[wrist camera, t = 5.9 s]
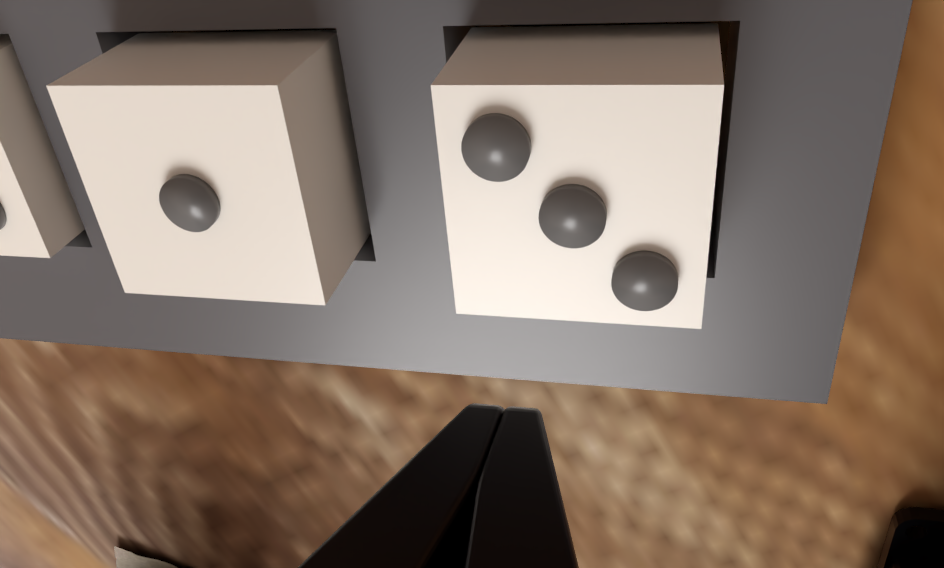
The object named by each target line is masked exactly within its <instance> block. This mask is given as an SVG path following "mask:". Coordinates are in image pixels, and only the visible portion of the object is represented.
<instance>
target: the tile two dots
mask: <svg viewBox="0 0 944 568" xmlns="http://www.w3.org/2000/svg"><path fill="white" fill-rule="evenodd" d="M83 230H85V227H84V225H83V222H82V220H81V217H80V215H79V212H78V210H77V207H76V204H75V202H74V199H73V197H72V194H71V192H70V189H69V187H68V184H67V182H66V179H65V176H64V174H63V171H62V169H61V166H60V164H59V161H58V159H57V156H56V154H55V151H54V148H53V146H52V143H51V141H50V138H49V136H48V133H47V131H46V128H45V126H44V123H43V120H42V118H41V115H40V113H39V110H38V108H37V105H36V103H35V100H34V98H33V95H32V92H31V90H30V87H29V85H28V82H27V80H26V77H25V75H24V72H23V70H22V67H21V64H20V62H19V59H18V57H17V54H16V52H15V49H14V47H13V44H12V42H11V39H10V36H9V34H0V255H1V256H20V257H39V258H51V257H52V256H54V255H55V254H56V253H57V252H58V251H60V250H61V249H62V248H63V247H64V246H65V245H67V244H68V243H69V242H70V241H71V240H73V239H74V238H75V237H76V236H77V235H79V234H80V233H81V232H82V231H83Z"/></svg>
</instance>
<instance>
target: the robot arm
mask: <svg viewBox="0 0 944 568" xmlns="http://www.w3.org/2000/svg"><path fill="white" fill-rule="evenodd" d="M911 526H916V527H911ZM298 568H579V567H578V563H577V558H576V554H575V550H574V546H573V542H572V538H571V534H570V529H569V525H568V521H567V517H566V513H565V509H564V505H563V501H562V496H561V492H560V488H559V484H558V480H557V476H556V472H555V467H554V463H553V459H552V455H551V451H550V447H549V443H548V439H547V434H546V430H545V426H544V422H543V418H542V414H541V412H540V411H539V410H538V409H535V408H523V407H508V408H506V409H505V410H504V409H503V408H502V407H501V406H498V405H487V404H470V405H468V406H467V407H465V408H464V409H463V410H462V411H461V412H460V413H459V414H458V415H457V416H456V417H455V418H454V419H453V420H452V421H451V422H450V423H449V424H447V425H446V426H445V427H444V428H443V429H442V430H441V431H440V432H439V433H438V434H437V435H436V436H435V437H434V438H433V439H432V440H431V441H430V442H429V443H428V444H427V445H425V446H424V447H423V448H422V449H421V450H420V451H419V452H418V453H417V454H416V455H415V456H414V457H413V458H412V459H411V460H410V461H409V462H408V463H407V464H406V465H405V466H404V467H402V468H401V469H400V470H399V471H398V472H397V473H396V474H395V475H394V476H393V477H392V478H391V479H390V480H389V481H388V482H387V483H386V484H385V485H384V486H383V487H382V488H380V489H379V490H378V491H377V492H376V493H375V494H374V495H373V496H372V497H371V498H370V499H369V500H368V501H367V502H366V503H365V504H364V505H363V506H362V507H361V508H360V509H359V510H357V511H356V512H355V513H354V514H353V515H352V516H351V517H350V518H349V519H348V520H347V521H346V522H345V523H344V524H343V525H342V526H341V527H340V528H339V529H338V530H337V531H335V532H334V533H333V534H332V535H331V536H330V537H329V538H328V539H327V540H326V541H325V542H324V543H323V544H322V545H321V546H320V547H319V548H318V549H317V550H316V551H315V552H314V553H312V554H311V555H310V556H309V557H308V558H307V559H306V560H305V561H304V562H303V563H302V564H301V565H300V566H299V567H298ZM873 568H944V510H939V509H929V508H919V507H908V508H905V509H901V510H899V511H898V512H896V513H895V514H894V516H893V517H892V520H891V523H890V526H889V530H888V533H887V536H886V540H885V543H884V546H883V550H882V553H881V556H880V559H879V563H878V566H877V567H873Z"/></svg>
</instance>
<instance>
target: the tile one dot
mask: <svg viewBox="0 0 944 568" xmlns="http://www.w3.org/2000/svg"><path fill="white" fill-rule="evenodd" d="M46 87H47V89H48V92H49V95H50V97H51V100H52V102H53V105H54V108H55V110H56V113H57V116H58V118H59V121H60V123H61V126H62V129H63V131H64V134H65V137H66V139H67V142H68V144H69V147H70V150H71V152H72V155H73V158H74V160H75V163H76V165H77V168H78V171H79V173H80V176H81V179H82V181H83V184H84V186H85V189H86V192H87V194H88V197H89V200H90V202H91V205H92V207H93V210H94V213H95V215H96V218H97V221H98V223H99V226H100V229H101V231H102V234H103V236H104V239H105V242H106V244H107V247H108V250H109V252H110V255H111V257H112V260H113V263H114V265H115V268H116V271H117V273H118V276H119V278H120V281H121V284H122V286H123V289H124V292H125V293H135V294H151V295H167V296H183V297H199V298H214V299H230V300H246V301H262V302H278V303H294V304H310V305H326V304H327V302H328V301H329V299H330V298H331V296H332V294H333V293H334V291H335V290H336V288H337V286H338V285H339V283H340V281H341V280H342V278H343V277H344V275H345V273H346V272H347V270H348V269H349V267H350V265H351V264H352V262H353V261H354V259H355V257H356V256H357V254H358V253H359V251H360V249H361V248H362V246H363V245H364V243H365V241H366V240H367V238H368V236H369V235H370V233H371V229H370V223H369V217H368V212H367V206H366V200H365V194H364V188H363V182H362V176H361V171H360V165H359V159H358V153H357V147H356V141H355V136H354V130H353V124H352V118H351V112H350V106H349V101H348V95H347V89H346V83H345V77H344V71H343V65H342V60H341V54H340V48H339V42H338V36H337V30H298V31H240V32H183V33H138V34H137V35H135V36H133V37H131V38H130V39H128V40H126V41H124V42H123V43H121V44H119V45H117V46H115V47H114V48H112V49H110V50H108V51H107V52H105V53H103V54H101V55H100V56H98V57H96V58H94V59H92V60H91V61H89V62H87V63H85V64H84V65H82V66H80V67H78V68H77V69H75V70H73V71H71V72H69V73H68V74H66V75H64V76H62V77H61V78H59V79H57V80H55V81H54V82H52V83H50V84H48V85H46Z"/></svg>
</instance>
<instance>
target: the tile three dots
mask: <svg viewBox="0 0 944 568" xmlns="http://www.w3.org/2000/svg"><path fill="white" fill-rule="evenodd" d="M723 92H724V78H723V68H722V58H721V48H720V38H719V28H718V23H702V24H644V25H587V26H529V27H472V28H471V29H470V30H469V32H468V33H467V35H466V36H465V38H464V39H463V40H462V42H461V43H460V45H459V46H458V47H457V49H456V50H455V52H454V53H453V54H452V56H451V57H450V59H449V60H448V61H447V63H446V64H445V66H444V67H443V68H442V70H441V71H440V73H439V74H438V76H437V77H436V78H435V80H434V81H433V83H432V84H431V93H432V102H433V111H434V120H435V129H436V138H437V147H438V156H439V165H440V173H441V182H442V191H443V200H444V209H445V218H446V227H447V236H448V245H449V254H450V263H451V272H452V281H453V290H454V298H455V307H456V314H470V315H486V316H501V317H517V318H533V319H549V320H565V321H581V322H597V323H613V324H629V325H645V326H661V327H677V328H693V329H701V328H702V317H703V307H704V296H705V285H706V274H707V264H708V253H709V242H710V231H711V221H712V210H713V199H714V188H715V178H716V167H717V156H718V145H719V135H720V124H721V113H722V102H723Z"/></svg>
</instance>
